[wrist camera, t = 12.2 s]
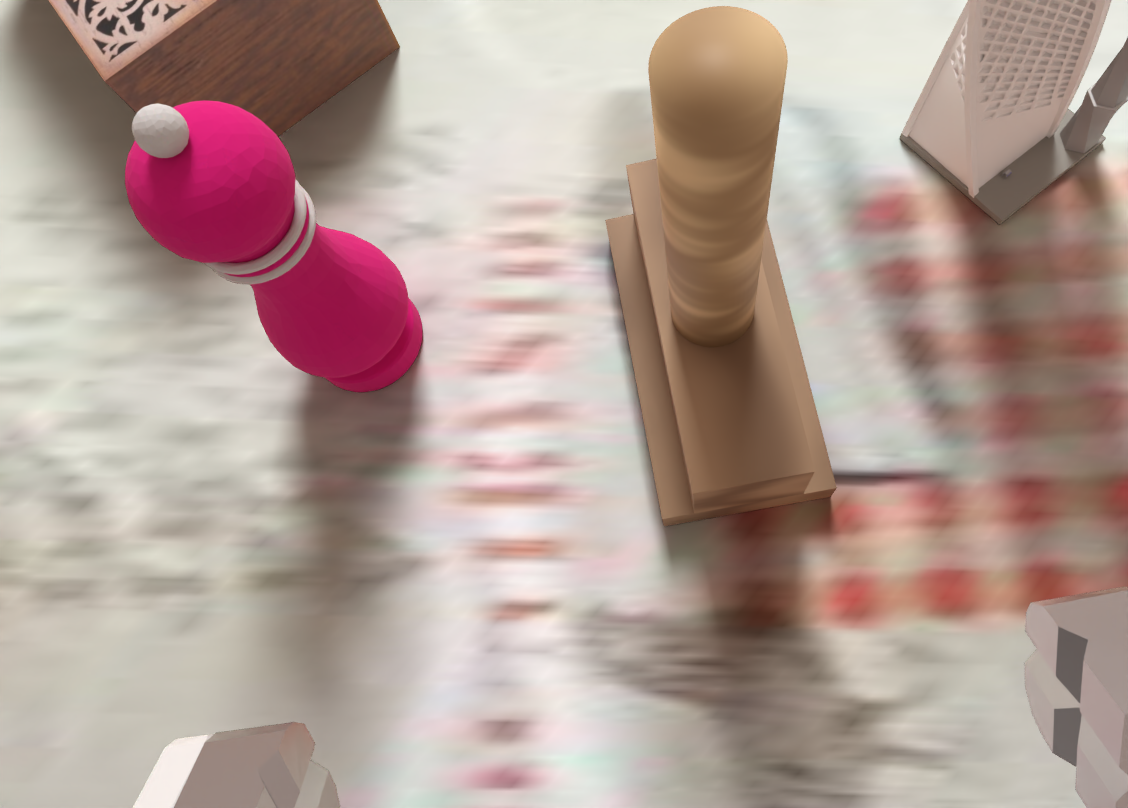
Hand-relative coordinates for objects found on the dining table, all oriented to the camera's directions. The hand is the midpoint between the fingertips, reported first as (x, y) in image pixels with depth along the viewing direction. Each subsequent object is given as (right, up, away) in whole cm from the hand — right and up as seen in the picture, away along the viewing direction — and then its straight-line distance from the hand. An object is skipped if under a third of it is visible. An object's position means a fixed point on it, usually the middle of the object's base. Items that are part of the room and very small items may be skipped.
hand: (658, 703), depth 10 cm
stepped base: (+6, +6, +34) cm, 35 cm away
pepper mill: (-12, +7, +38) cm, 40 cm away
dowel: (+5, +7, +28) cm, 29 cm away
